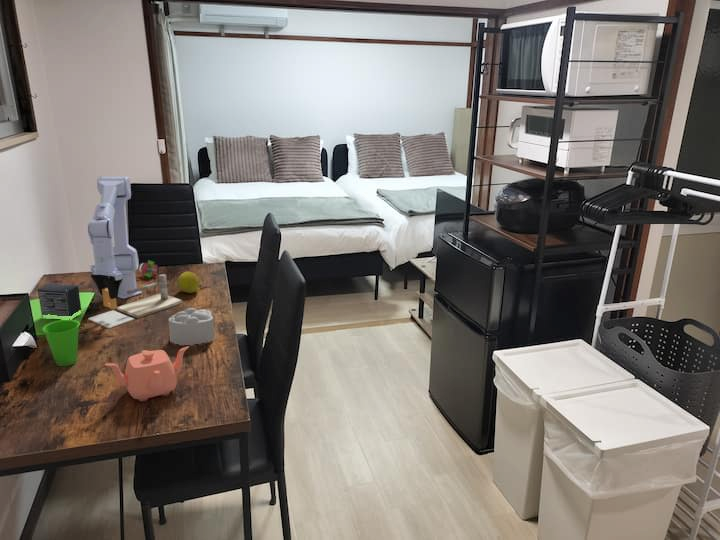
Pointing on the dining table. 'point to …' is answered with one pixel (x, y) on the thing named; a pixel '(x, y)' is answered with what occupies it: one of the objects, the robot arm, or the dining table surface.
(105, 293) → the c link
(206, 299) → the dining table surface
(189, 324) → the lumpy-topped squat cylinder
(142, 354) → the teapot
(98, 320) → the grey mat
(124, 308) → the hook stand
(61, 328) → the cup
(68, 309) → the small box
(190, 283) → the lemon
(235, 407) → the dining table surface
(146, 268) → the geometric puzzle
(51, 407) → the dining table surface
